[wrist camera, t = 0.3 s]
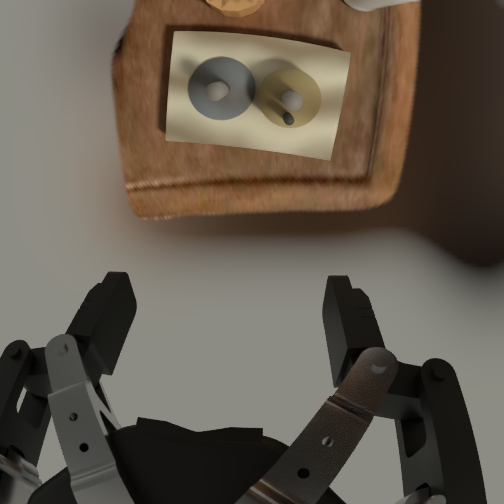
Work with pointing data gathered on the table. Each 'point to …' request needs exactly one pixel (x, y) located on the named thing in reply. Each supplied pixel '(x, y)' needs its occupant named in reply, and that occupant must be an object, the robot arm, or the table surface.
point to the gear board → (255, 92)
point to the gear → (235, 7)
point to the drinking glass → (374, 4)
